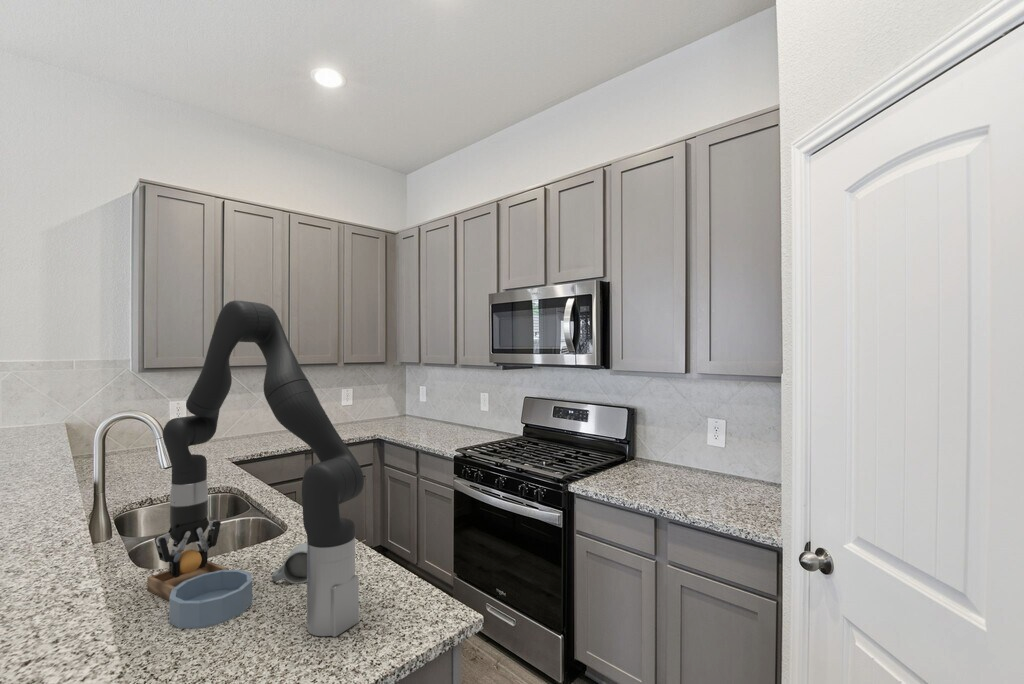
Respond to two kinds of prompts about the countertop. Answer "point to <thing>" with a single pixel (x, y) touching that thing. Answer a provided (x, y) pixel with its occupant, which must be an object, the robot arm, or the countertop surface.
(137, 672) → the countertop surface
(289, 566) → the ceramic mug
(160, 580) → the tray
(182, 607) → the faceted grey bowl
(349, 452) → the robot arm
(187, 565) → the ball
